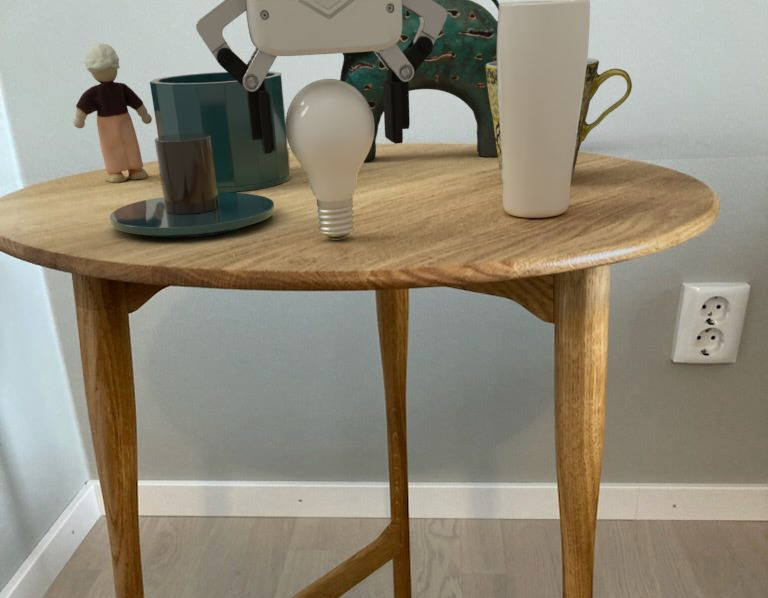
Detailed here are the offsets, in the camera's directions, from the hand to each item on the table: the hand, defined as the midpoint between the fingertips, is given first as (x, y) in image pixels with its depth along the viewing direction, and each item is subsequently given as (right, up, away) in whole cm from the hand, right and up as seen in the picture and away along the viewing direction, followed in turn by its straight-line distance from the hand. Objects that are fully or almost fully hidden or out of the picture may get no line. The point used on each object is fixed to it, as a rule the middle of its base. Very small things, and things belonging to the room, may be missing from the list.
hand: (331, 145), depth 66 cm
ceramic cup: (+20, +5, +20) cm, 29 cm away
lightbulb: (0, -6, +3) cm, 7 cm away
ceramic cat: (+8, +12, +34) cm, 37 cm away
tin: (-12, +7, +26) cm, 30 cm away
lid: (-12, -2, +10) cm, 16 cm away
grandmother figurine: (-24, +8, +30) cm, 39 cm away
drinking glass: (+16, -2, +8) cm, 18 cm away
